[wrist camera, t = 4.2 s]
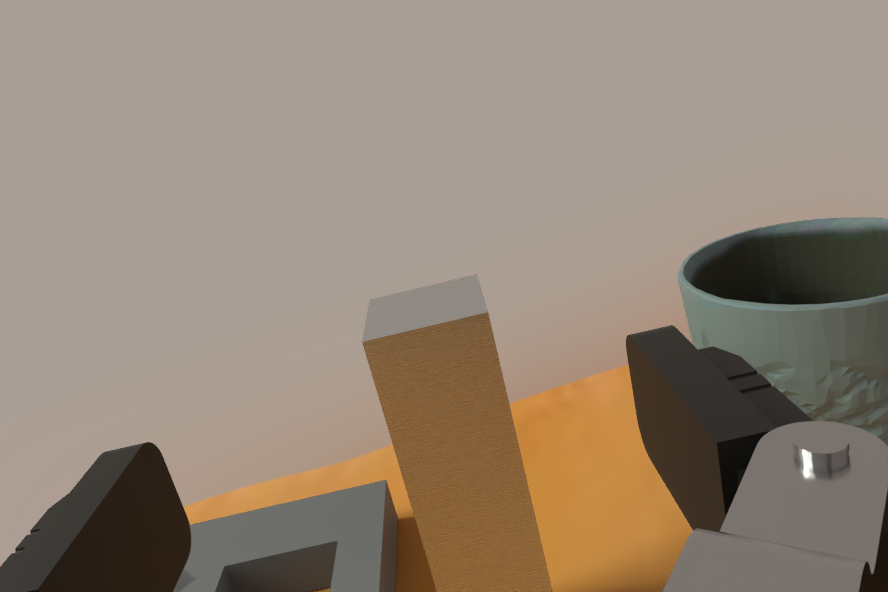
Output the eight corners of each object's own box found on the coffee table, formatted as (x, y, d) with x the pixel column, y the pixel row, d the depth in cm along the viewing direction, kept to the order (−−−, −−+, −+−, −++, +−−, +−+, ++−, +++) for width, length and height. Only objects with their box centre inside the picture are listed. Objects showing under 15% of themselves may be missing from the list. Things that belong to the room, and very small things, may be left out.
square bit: (552, 598, 30) (476, 274, 25) (572, 675, 26) (488, 312, 22) (461, 618, 30) (369, 299, 26) (468, 697, 27) (362, 341, 22)
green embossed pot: (831, 627, 26) (811, 332, 22) (662, 491, 35) (627, 267, 31) (1028, 518, 28) (1040, 236, 24) (822, 418, 38) (807, 202, 34)
